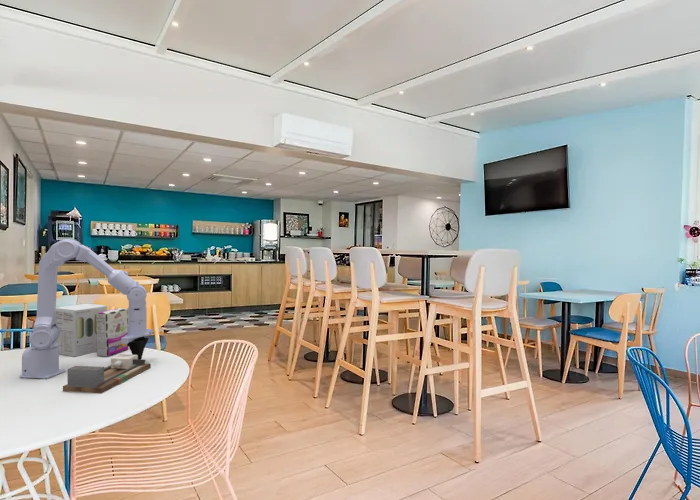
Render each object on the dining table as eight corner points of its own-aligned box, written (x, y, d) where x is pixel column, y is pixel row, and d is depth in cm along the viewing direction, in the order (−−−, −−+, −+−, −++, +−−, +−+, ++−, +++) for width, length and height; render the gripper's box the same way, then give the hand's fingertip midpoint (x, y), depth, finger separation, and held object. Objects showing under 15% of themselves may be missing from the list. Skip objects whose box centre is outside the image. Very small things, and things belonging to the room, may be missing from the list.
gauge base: (62, 391, 122) (62, 383, 122) (117, 366, 145) (117, 360, 145) (102, 393, 120) (102, 385, 120) (151, 367, 144) (151, 361, 144)
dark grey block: (67, 386, 121) (67, 368, 121) (75, 382, 124) (75, 365, 124) (96, 387, 120) (96, 370, 120) (104, 384, 123) (104, 367, 123)
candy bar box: (117, 349, 169) (117, 307, 168) (129, 349, 168) (128, 308, 167) (95, 356, 158) (95, 312, 157) (107, 357, 157) (107, 313, 156)
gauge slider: (106, 370, 136) (106, 360, 136) (120, 363, 143) (120, 354, 142) (136, 371, 135) (136, 361, 134) (149, 364, 142) (149, 355, 141)
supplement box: (74, 357, 156) (73, 310, 156) (52, 353, 162) (52, 307, 162) (108, 349, 168) (107, 305, 168) (87, 345, 174) (86, 302, 174)
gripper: (135, 324, 139) (135, 366, 139) (159, 317, 153) (160, 354, 154) (115, 324, 140) (115, 365, 140) (141, 316, 154) (141, 353, 154)
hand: (137, 359), depth 147 cm, fingers closed
